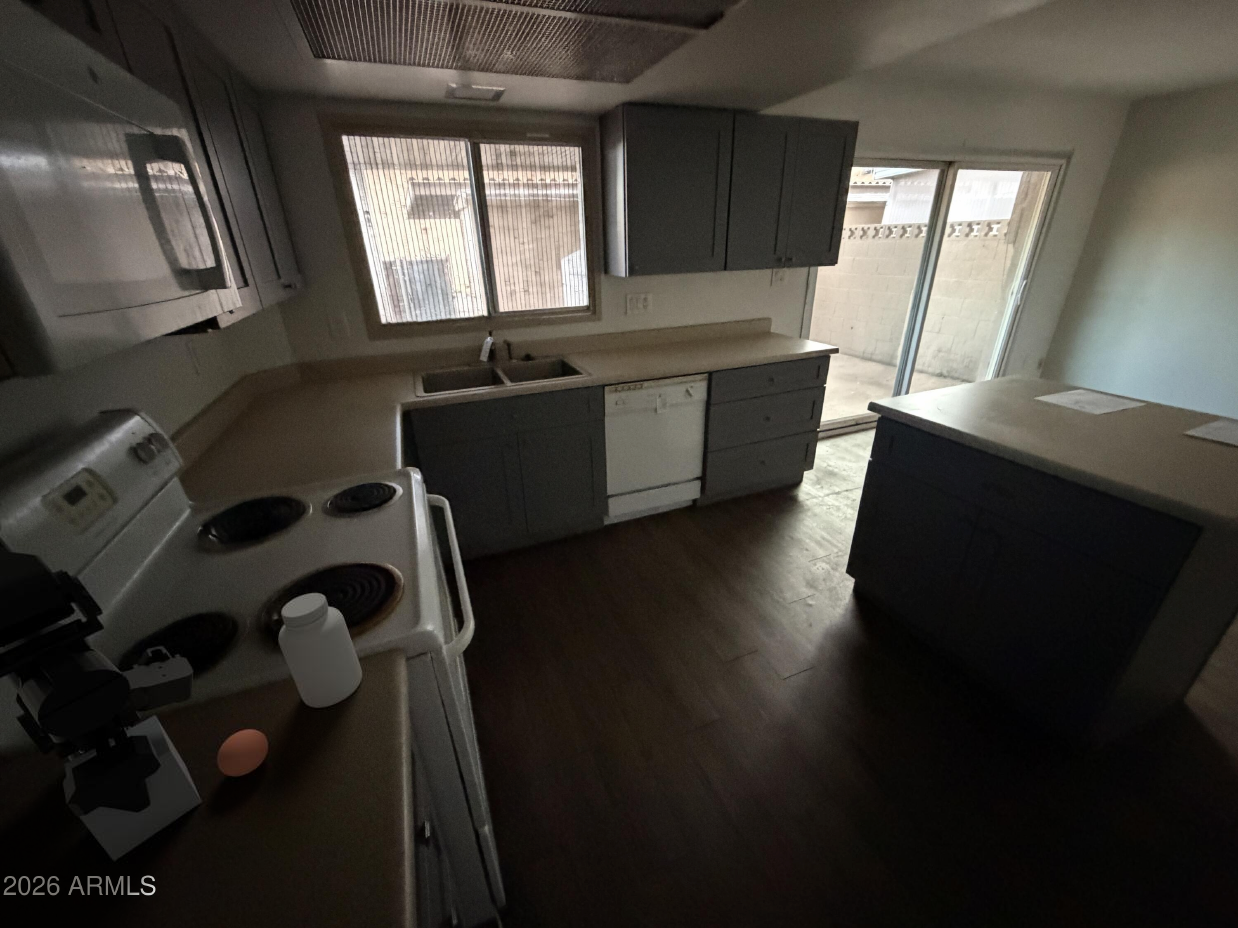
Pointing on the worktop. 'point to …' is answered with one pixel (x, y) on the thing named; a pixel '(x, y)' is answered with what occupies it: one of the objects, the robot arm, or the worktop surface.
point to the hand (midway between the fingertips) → (137, 785)
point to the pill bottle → (319, 651)
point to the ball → (242, 752)
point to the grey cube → (166, 793)
